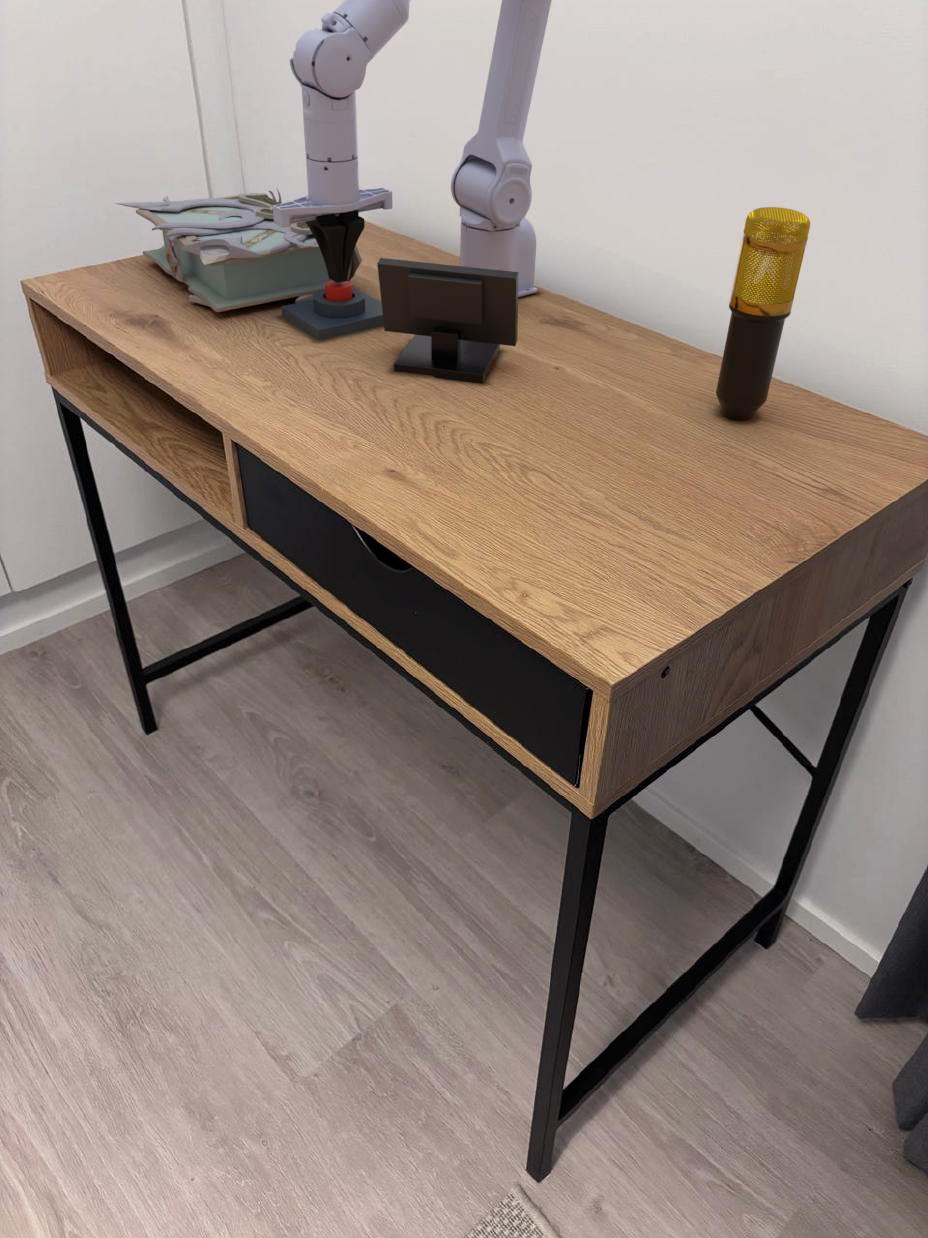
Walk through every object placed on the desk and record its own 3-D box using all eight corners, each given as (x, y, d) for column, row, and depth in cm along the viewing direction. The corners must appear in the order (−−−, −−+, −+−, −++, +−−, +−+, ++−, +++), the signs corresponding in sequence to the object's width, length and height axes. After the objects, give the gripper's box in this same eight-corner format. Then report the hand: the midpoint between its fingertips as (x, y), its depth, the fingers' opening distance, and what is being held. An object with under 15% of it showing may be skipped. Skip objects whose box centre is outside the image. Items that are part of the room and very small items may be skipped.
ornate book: (372, 302, 129) (268, 232, 147) (371, 226, 123) (263, 163, 141) (207, 337, 118) (118, 257, 137) (197, 255, 112) (106, 183, 131)
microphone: (688, 372, 111) (721, 183, 99) (778, 418, 103) (826, 217, 91) (649, 384, 109) (678, 190, 97) (738, 431, 100) (782, 226, 88)
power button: (343, 291, 121) (342, 277, 120) (357, 299, 119) (357, 284, 118) (320, 296, 120) (319, 282, 119) (334, 304, 118) (333, 290, 117)
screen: (387, 324, 113) (380, 256, 106) (517, 339, 110) (518, 271, 104) (382, 335, 112) (374, 267, 105) (513, 350, 109) (514, 282, 103)
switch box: (359, 300, 127) (358, 276, 125) (398, 322, 121) (398, 297, 119) (281, 317, 121) (279, 292, 120) (319, 341, 116) (317, 316, 114)
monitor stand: (415, 341, 116) (415, 307, 114) (499, 351, 115) (501, 317, 112) (393, 372, 109) (393, 336, 107) (482, 383, 108) (484, 347, 105)
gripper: (368, 141, 116) (371, 259, 124) (255, 156, 109) (267, 280, 117) (402, 153, 112) (403, 275, 120) (286, 170, 105) (296, 298, 113)
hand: (337, 279), depth 118 cm, fingers closed
